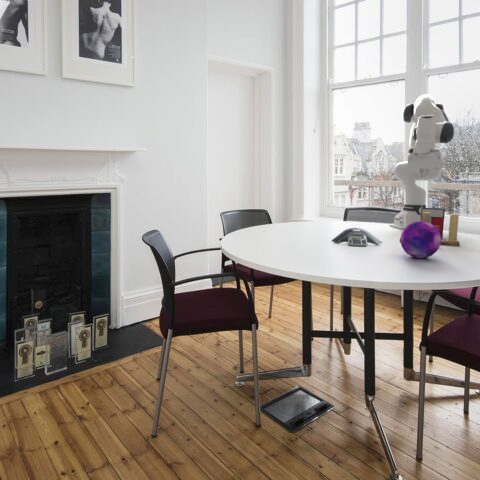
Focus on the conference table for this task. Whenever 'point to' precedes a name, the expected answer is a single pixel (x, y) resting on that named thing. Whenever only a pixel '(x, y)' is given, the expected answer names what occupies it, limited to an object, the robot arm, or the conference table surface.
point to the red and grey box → (436, 217)
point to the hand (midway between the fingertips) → (423, 178)
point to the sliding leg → (426, 216)
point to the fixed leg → (453, 228)
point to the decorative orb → (420, 239)
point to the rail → (447, 243)
